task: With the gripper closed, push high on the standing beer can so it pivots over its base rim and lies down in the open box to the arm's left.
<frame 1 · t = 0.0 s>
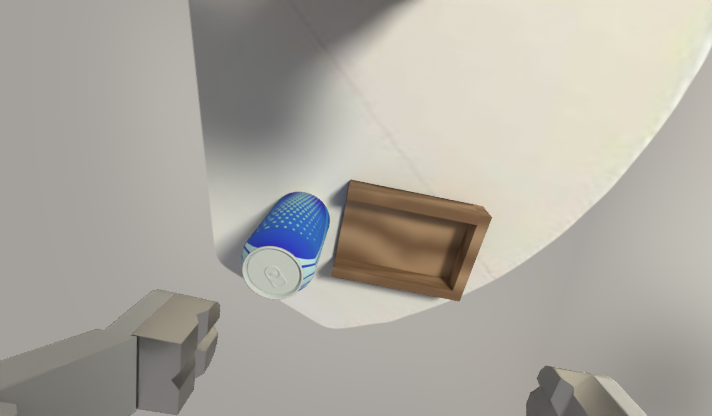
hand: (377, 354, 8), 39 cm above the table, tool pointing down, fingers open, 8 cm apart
open box: (400, 234, 50), on the table
beer can: (303, 214, 50), on the table
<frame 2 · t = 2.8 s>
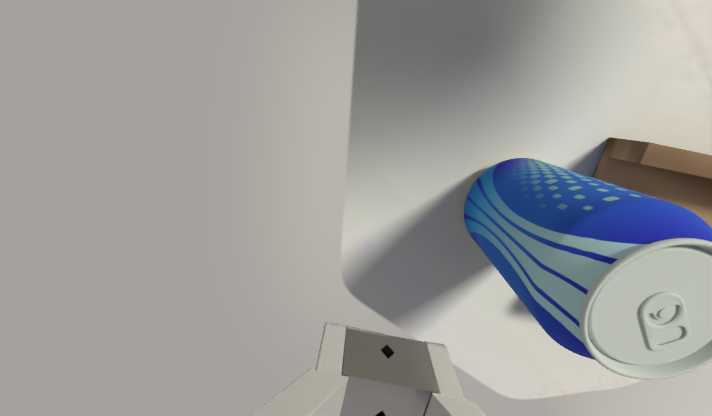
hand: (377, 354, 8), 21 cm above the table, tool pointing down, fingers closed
open box: (674, 237, 29), on the table
beer can: (507, 203, 29), on the table
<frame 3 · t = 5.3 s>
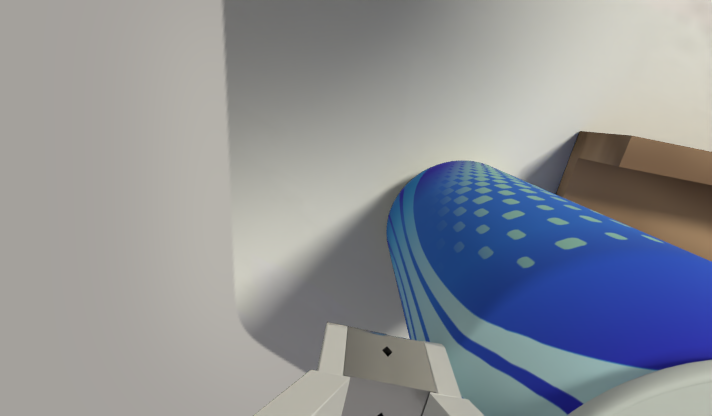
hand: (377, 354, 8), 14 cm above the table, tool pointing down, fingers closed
open box: (671, 265, 22), on the table
beer can: (448, 221, 21), on the table, touching gripper
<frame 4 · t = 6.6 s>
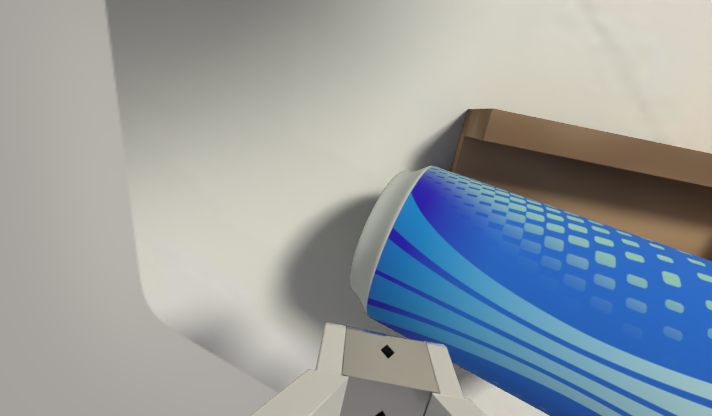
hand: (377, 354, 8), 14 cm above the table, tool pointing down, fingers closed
open box: (571, 246, 21), on the table
beer can: (378, 230, 18), point 4 cm above the table, touching open box
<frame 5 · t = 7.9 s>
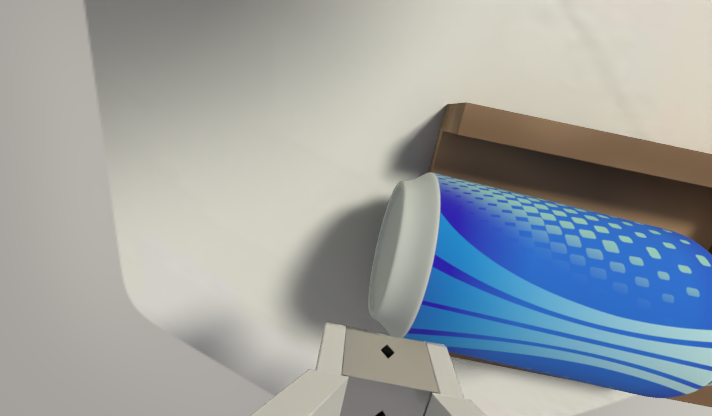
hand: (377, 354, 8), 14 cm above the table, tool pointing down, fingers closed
open box: (551, 242, 21), on the table
beer can: (379, 246, 17), point 5 cm above the table, touching open box
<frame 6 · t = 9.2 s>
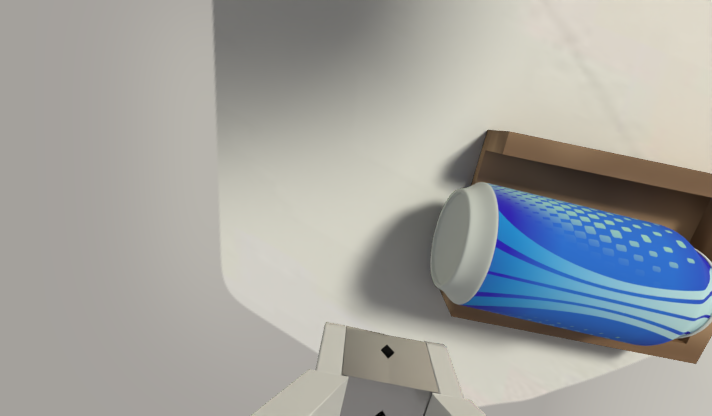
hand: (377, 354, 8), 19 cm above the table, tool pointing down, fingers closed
open box: (567, 236, 27), on the table
beer can: (444, 236, 22), point 5 cm above the table, touching open box
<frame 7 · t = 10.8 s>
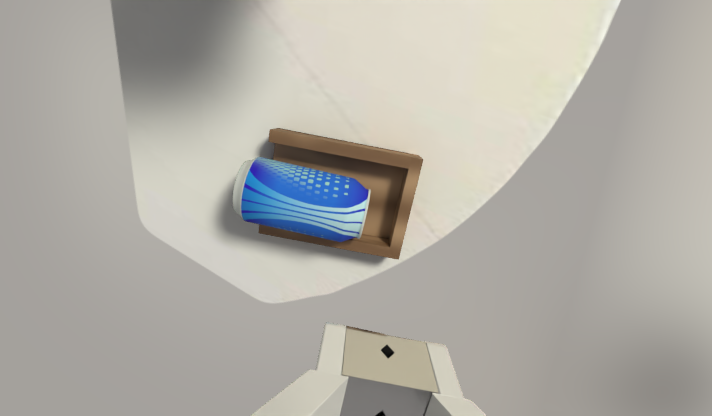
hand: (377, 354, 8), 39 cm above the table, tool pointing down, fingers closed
open box: (334, 189, 47), on the table
beer can: (241, 186, 42), point 5 cm above the table, touching open box
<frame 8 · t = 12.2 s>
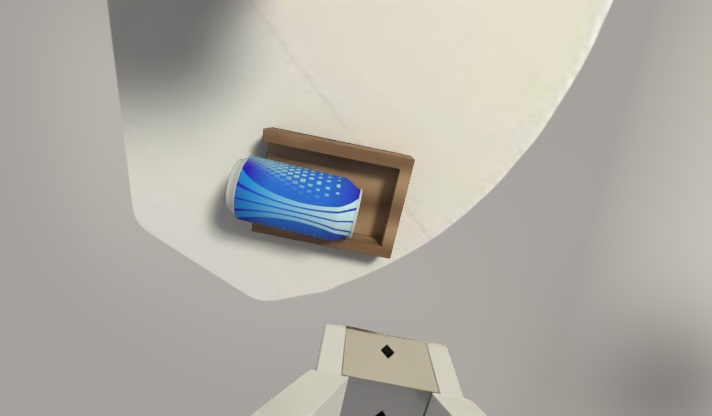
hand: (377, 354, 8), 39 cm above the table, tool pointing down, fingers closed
open box: (327, 189, 47), on the table
beer can: (235, 184, 42), point 5 cm above the table, touching open box
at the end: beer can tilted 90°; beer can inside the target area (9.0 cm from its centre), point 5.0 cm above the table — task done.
